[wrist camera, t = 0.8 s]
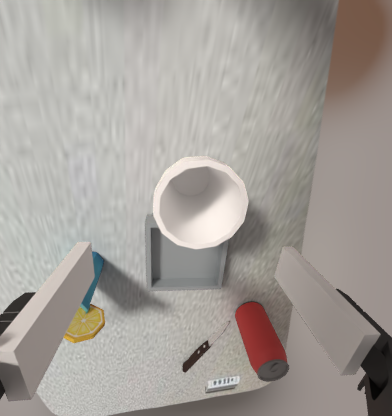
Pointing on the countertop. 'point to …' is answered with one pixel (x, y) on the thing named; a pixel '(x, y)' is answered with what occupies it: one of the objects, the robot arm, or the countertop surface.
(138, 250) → the countertop surface
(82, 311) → the cup
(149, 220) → the tray
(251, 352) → the beer can
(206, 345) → the kitchen knife
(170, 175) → the foam cup
